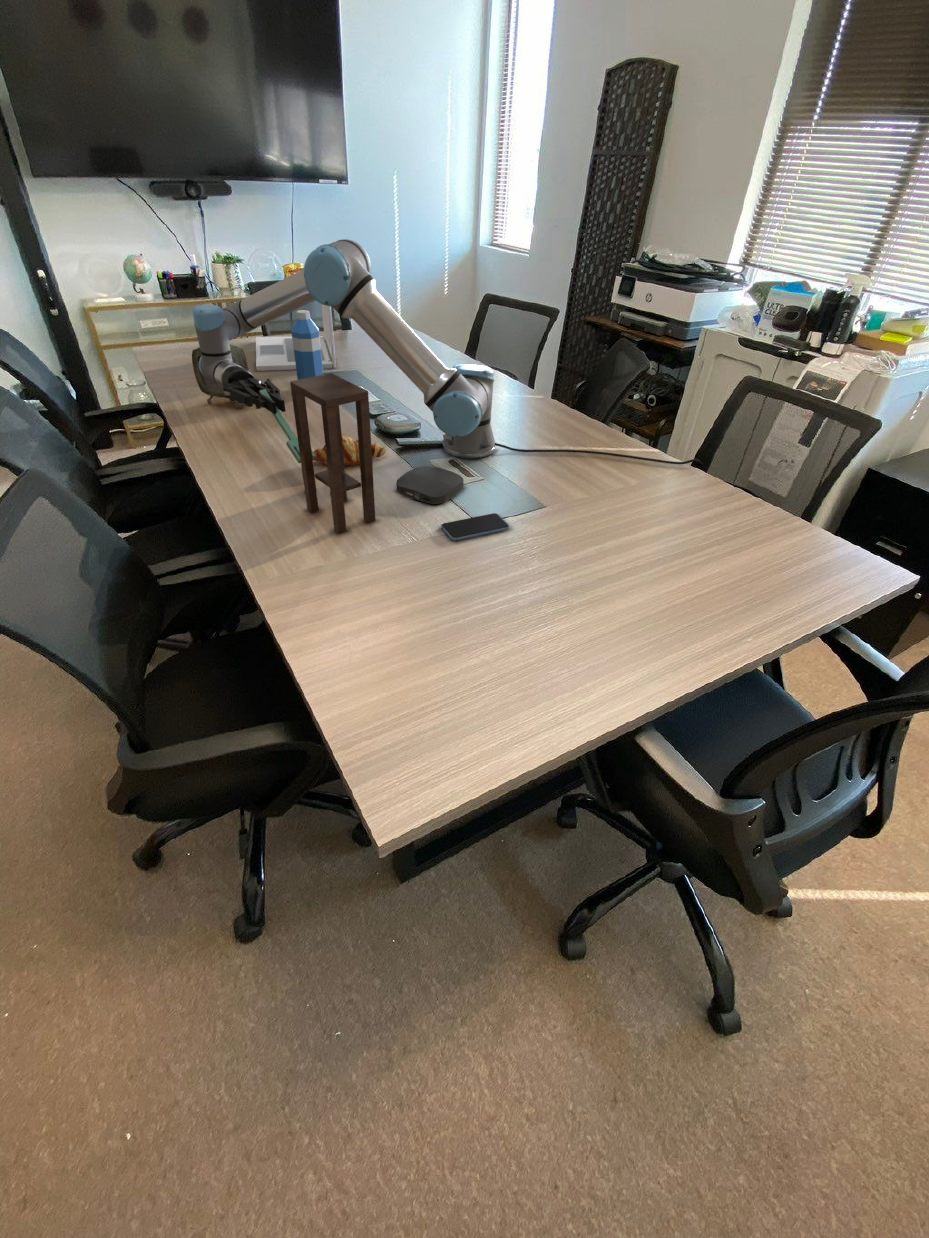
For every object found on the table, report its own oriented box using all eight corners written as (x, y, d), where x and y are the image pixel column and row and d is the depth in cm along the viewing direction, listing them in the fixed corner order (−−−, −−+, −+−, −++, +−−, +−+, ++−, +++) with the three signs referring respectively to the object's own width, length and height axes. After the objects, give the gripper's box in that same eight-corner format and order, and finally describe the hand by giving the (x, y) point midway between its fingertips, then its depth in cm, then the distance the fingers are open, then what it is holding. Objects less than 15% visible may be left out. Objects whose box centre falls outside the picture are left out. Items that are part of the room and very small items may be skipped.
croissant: (383, 463, 173) (379, 434, 171) (392, 460, 164) (388, 430, 162) (309, 470, 166) (304, 441, 165) (313, 468, 157) (308, 436, 155)
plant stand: (307, 509, 144) (289, 381, 125) (343, 498, 149) (331, 373, 130) (339, 534, 136) (325, 400, 117) (375, 520, 141) (368, 391, 122)
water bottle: (319, 396, 204) (311, 316, 188) (293, 393, 205) (283, 313, 189) (330, 388, 211) (322, 309, 195) (304, 385, 212) (295, 307, 197)
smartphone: (511, 526, 140) (453, 538, 134) (510, 529, 140) (452, 542, 135) (496, 511, 145) (439, 523, 139) (495, 514, 145) (439, 526, 140)
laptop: (256, 341, 252) (244, 266, 234) (327, 340, 258) (320, 266, 241) (256, 371, 222) (243, 287, 205) (336, 368, 229) (329, 287, 211)
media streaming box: (469, 486, 157) (469, 475, 155) (438, 508, 147) (439, 497, 145) (422, 471, 162) (422, 461, 160) (390, 492, 152) (389, 481, 150)
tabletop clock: (201, 405, 193) (182, 320, 177) (217, 396, 200) (199, 314, 184) (242, 411, 191) (226, 325, 175) (257, 401, 198) (242, 319, 182)
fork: (253, 394, 147) (254, 390, 146) (270, 391, 150) (270, 387, 149) (298, 463, 144) (299, 460, 143) (314, 459, 146) (315, 455, 145)
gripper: (263, 389, 164) (308, 416, 151) (211, 400, 156) (253, 429, 143) (259, 361, 159) (304, 385, 146) (204, 370, 151) (247, 397, 138)
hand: (279, 407), depth 145 cm, fingers closed on fork, 2 cm apart
